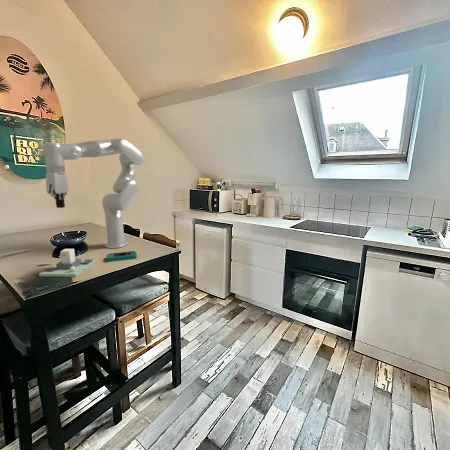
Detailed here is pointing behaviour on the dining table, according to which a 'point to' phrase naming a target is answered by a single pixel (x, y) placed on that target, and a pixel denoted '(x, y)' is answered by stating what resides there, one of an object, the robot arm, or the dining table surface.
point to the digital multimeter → (121, 256)
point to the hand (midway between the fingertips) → (60, 207)
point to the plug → (67, 256)
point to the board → (68, 268)
